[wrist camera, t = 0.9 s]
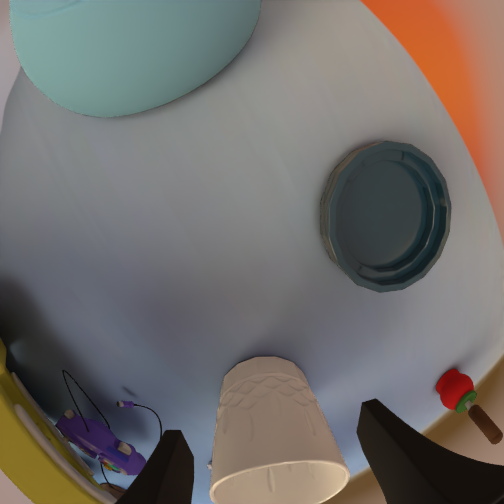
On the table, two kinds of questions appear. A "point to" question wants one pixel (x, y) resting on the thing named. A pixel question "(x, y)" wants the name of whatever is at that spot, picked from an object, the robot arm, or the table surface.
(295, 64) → the table surface
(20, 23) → the sugar bowl
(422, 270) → the dish
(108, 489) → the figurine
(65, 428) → the game controller
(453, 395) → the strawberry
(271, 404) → the white cup
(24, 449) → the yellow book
